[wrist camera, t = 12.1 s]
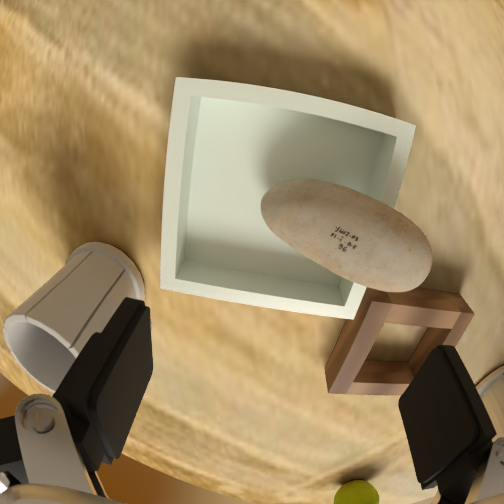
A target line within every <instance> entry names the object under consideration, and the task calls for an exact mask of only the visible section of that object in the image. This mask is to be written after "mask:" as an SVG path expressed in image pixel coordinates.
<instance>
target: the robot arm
mask: <svg viewBox="0 0 504 504" xmlns="http://www.w3.org/2000/svg"><path fill="white" fill-rule="evenodd" d="M152 372H153V357H152V342H151V323H150V308H149V307H147V306H145V303H144V301H142V300H138V299H134V298H129V297H125V298H124V299H123V301H122V302H121V304H120V305H119V307H118V308H117V310H116V311H115V313H114V314H113V316H112V317H111V318H110V320H109V321H108V323H107V324H106V326H105V327H104V329H103V331H102V332H101V333H99V332H95V333H93V334H92V336H91V337H90V338H89V340H88V341H87V343H86V344H85V346H84V347H83V349H82V350H81V352H80V353H79V355H78V356H77V358H76V360H75V361H74V363H73V364H72V366H71V367H70V369H69V370H68V372H67V374H66V375H65V377H64V378H63V380H62V382H61V383H60V385H59V386H58V388H57V390H56V391H55V393H54V395H53V396H52V397H51V396H49V395H46V394H33V395H30V396H27V397H26V398H25V399H23V400H22V401H21V402H20V403H19V405H18V406H17V409H16V411H15V416H11V417H7V418H3V419H0V504H125V503H121V502H117V501H114V500H111V499H109V498H108V496H107V494H106V492H105V490H104V488H103V486H102V484H101V481H100V479H99V477H98V475H97V472H96V471H97V470H99V467H100V465H101V462H104V463H107V464H110V465H111V463H112V461H113V458H116V459H118V458H119V457H120V455H121V452H122V450H123V447H124V444H125V442H126V439H127V436H128V434H129V431H130V429H131V426H132V423H133V421H134V418H135V416H136V413H137V411H138V408H139V405H140V403H141V400H142V398H143V395H144V393H145V390H146V388H147V385H148V383H149V381H150V378H151V375H152ZM399 410H400V413H401V417H402V420H403V424H404V428H405V431H406V435H407V439H408V443H409V447H410V451H411V455H412V459H413V463H414V467H415V472H416V476H417V480H418V482H419V483H421V487H422V490H424V489H429V488H434V487H435V486H437V485H438V491H437V493H436V495H435V497H434V499H433V501H432V503H431V504H504V365H503V366H501V367H500V368H498V369H496V370H495V371H493V372H492V373H491V374H489V375H488V376H487V377H485V378H484V379H483V380H482V381H481V382H480V383H479V384H478V385H477V386H476V387H475V385H474V383H473V381H472V379H471V377H470V375H469V373H468V371H467V369H466V367H465V365H464V364H463V362H462V360H461V358H460V356H459V354H458V352H457V351H456V349H455V347H454V346H452V345H437V346H436V347H435V349H432V351H431V352H430V354H429V355H428V357H427V358H426V360H425V362H424V363H423V365H422V366H421V368H420V369H419V371H418V372H417V374H416V375H415V377H414V378H413V380H412V381H411V383H410V384H409V386H408V387H407V388H406V390H405V391H404V393H403V394H402V395H401V397H400V399H399Z"/></svg>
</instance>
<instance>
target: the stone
mask: <svg viewBox="0 0 504 504" xmlns="http://www.w3.org/2000/svg"><path fill="white" fill-rule="evenodd" d="M261 214H262V217H263V219H264V221H265V223H266V225H267V226H268V228H269V229H270V230H271V231H272V232H273V233H274V234H275V235H276V236H277V237H279V238H280V239H281V240H283V241H284V242H285V243H287V244H288V245H290V246H291V247H292V248H294V249H295V250H297V251H298V252H300V253H301V254H303V255H304V256H306V257H308V258H309V259H311V260H313V261H314V262H316V263H318V264H320V265H321V266H323V267H325V268H326V269H328V270H330V271H332V272H333V273H335V274H337V275H339V276H341V277H343V278H345V279H348V280H350V281H352V282H355V283H357V284H360V285H363V286H366V287H369V288H372V289H376V290H381V291H386V292H405V291H409V290H412V289H414V288H416V287H417V286H419V285H420V284H421V283H422V282H423V281H424V280H425V279H426V277H427V276H428V274H429V272H430V269H431V266H432V260H433V254H432V249H431V246H430V243H429V241H428V239H427V238H426V236H425V235H424V233H423V232H422V231H421V229H420V228H419V227H418V226H417V225H416V224H414V223H413V222H412V221H411V220H410V219H408V218H407V217H406V216H404V215H403V214H401V213H400V212H398V211H396V210H395V209H393V208H391V207H389V206H388V205H386V204H384V203H382V202H380V201H378V200H376V199H374V198H372V197H369V196H367V195H365V194H363V193H360V192H358V191H356V190H353V189H351V188H348V187H345V186H342V185H339V184H335V183H331V182H326V181H321V180H316V179H295V180H291V181H287V182H284V183H281V184H278V185H276V186H274V187H273V188H271V189H270V190H268V191H267V192H266V193H265V194H264V196H263V197H262V200H261Z"/></svg>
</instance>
